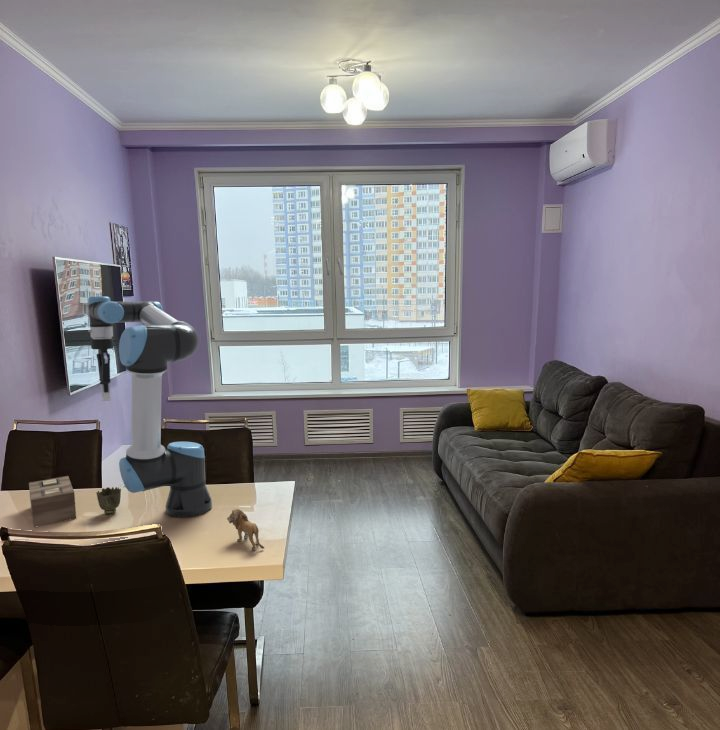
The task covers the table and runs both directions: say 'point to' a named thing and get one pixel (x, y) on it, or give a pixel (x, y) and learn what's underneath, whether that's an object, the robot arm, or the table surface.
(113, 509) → the cup
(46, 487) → the wooden box
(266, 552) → the table surface
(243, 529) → the lion figurine
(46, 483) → the peg
